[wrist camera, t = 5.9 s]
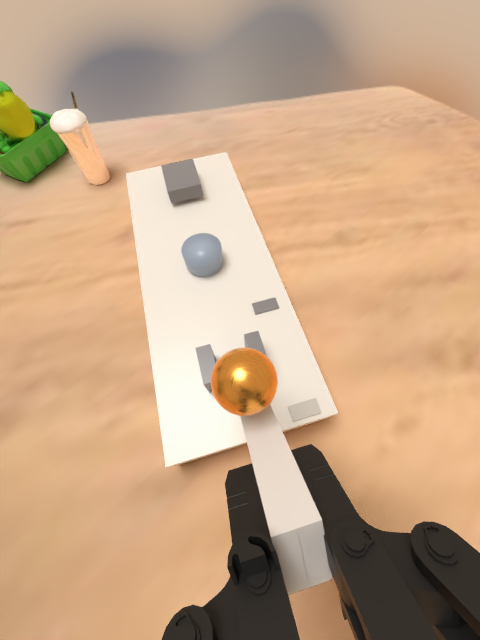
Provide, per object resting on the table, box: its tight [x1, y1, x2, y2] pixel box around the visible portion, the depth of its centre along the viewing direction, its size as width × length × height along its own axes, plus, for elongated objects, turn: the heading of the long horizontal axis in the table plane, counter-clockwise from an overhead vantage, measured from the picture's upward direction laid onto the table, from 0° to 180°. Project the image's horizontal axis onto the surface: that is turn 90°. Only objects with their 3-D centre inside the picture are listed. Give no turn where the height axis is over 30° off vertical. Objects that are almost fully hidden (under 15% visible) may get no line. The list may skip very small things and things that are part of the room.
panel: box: [126, 152, 338, 467], centre depth 29 cm, size 14×36×7 cm, turn 16°
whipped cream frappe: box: [50, 91, 110, 185], centre depth 37 cm, size 4×5×10 cm
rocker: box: [161, 159, 203, 203], centre depth 32 cm, size 4×5×2 cm
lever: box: [211, 347, 278, 416], centre depth 16 cm, size 3×3×14 cm
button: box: [181, 233, 223, 276], centre depth 27 cm, size 4×4×2 cm
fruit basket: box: [0, 81, 66, 182], centre depth 39 cm, size 11×9×11 cm
